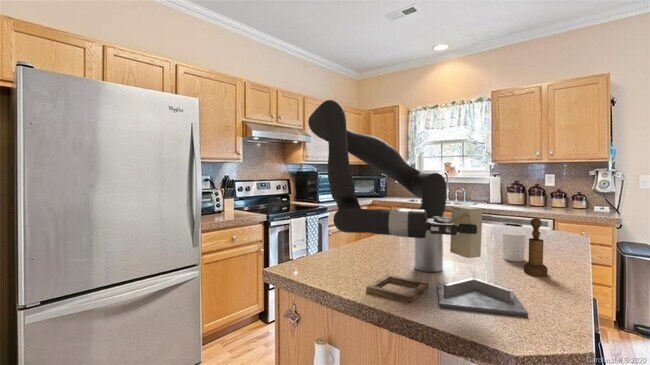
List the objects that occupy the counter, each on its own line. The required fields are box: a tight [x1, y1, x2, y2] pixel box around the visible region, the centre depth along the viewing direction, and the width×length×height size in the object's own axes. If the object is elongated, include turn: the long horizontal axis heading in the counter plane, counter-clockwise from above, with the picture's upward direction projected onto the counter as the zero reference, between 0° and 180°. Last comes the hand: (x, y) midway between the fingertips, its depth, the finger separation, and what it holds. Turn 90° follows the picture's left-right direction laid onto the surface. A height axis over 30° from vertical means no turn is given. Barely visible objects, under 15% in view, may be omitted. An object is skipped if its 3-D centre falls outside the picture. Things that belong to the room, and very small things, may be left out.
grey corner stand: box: [436, 277, 529, 318], centre depth 83 cm, size 16×19×4 cm
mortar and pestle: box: [523, 217, 548, 277], centre depth 104 cm, size 7×6×18 cm
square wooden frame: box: [365, 274, 430, 304], centre depth 90 cm, size 13×13×2 cm
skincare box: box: [449, 205, 484, 259], centre depth 80 cm, size 6×4×12 cm
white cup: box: [501, 230, 527, 263], centre depth 121 cm, size 8×8×10 cm
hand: (475, 226), depth 79 cm, fingers closed on skincare box, 7 cm apart
